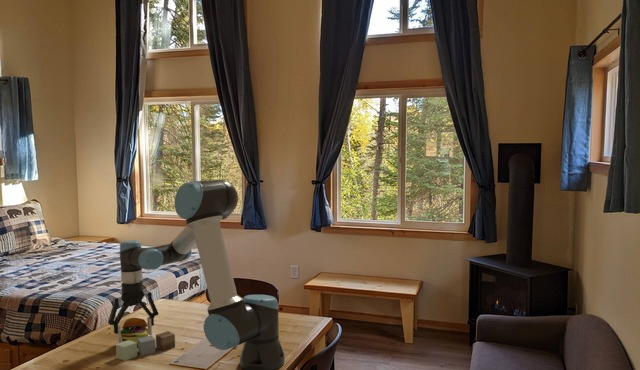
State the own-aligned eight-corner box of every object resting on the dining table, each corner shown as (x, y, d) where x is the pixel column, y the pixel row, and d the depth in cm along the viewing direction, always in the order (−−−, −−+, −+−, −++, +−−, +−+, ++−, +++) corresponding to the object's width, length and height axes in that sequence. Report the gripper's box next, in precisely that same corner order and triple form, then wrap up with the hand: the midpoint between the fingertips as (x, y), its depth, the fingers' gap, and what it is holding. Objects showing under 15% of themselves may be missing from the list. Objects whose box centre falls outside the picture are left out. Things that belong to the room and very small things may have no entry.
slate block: (155, 352, 176) (154, 339, 176) (141, 356, 173) (140, 342, 173) (152, 348, 180) (151, 335, 180) (138, 351, 178) (137, 338, 177)
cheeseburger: (118, 347, 178) (117, 320, 180) (122, 345, 188) (121, 318, 190) (147, 343, 181) (146, 316, 182) (150, 341, 191) (148, 315, 193)
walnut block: (175, 347, 181) (174, 334, 181) (162, 351, 177) (162, 337, 177) (168, 343, 184) (167, 331, 184) (156, 347, 181) (155, 334, 181)
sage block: (137, 356, 173) (136, 342, 173) (125, 361, 169) (124, 347, 169) (128, 353, 176) (128, 339, 176) (116, 358, 172) (115, 344, 172)
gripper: (159, 274, 194) (161, 328, 195) (97, 284, 181) (100, 342, 182) (165, 277, 188) (168, 333, 189) (101, 288, 175) (104, 348, 176)
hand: (134, 337), depth 185 cm, fingers closed on cheeseburger, 11 cm apart
